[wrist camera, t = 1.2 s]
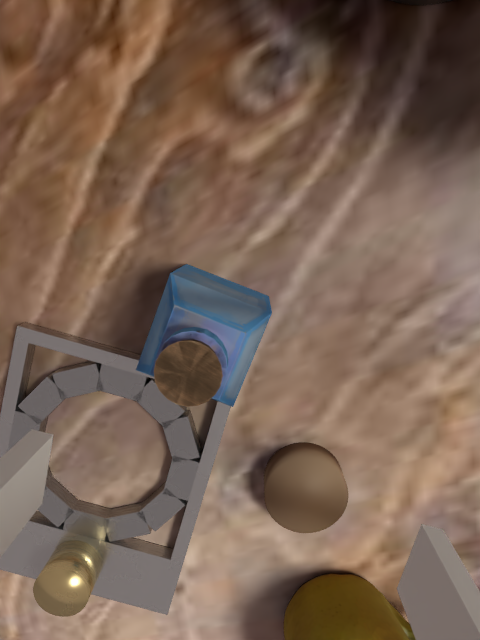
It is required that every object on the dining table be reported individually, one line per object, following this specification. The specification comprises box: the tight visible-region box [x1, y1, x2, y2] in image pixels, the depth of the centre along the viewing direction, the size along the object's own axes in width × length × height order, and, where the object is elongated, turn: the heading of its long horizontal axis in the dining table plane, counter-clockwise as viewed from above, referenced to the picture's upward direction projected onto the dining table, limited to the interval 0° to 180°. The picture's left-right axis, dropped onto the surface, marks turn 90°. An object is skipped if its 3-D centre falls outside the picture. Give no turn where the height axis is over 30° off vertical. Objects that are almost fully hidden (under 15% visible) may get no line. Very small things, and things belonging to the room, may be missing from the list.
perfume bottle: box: [136, 264, 272, 407], centre depth 26 cm, size 6×6×12 cm
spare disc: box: [264, 443, 348, 533], centre depth 34 cm, size 6×6×2 cm
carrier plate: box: [0, 322, 231, 617], centre depth 33 cm, size 20×16×4 cm
